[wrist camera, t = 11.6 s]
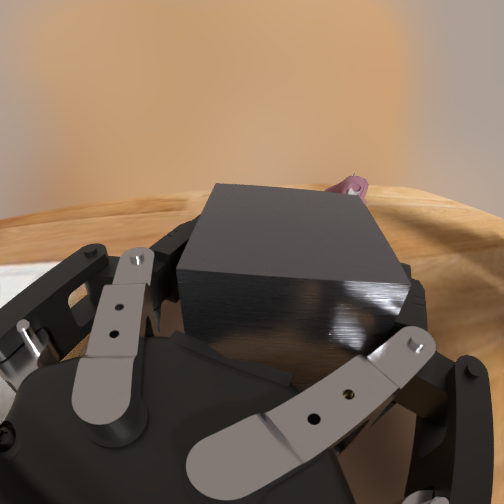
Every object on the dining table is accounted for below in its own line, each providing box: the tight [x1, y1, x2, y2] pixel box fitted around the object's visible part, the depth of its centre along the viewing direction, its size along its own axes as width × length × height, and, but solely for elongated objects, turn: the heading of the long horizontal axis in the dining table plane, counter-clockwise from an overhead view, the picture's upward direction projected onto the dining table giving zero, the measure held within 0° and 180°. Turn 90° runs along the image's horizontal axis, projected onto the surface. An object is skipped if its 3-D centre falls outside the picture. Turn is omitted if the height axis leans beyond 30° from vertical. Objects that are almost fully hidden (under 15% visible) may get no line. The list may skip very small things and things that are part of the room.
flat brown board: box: [79, 299, 429, 504], centre depth 14 cm, size 22×16×7 cm
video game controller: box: [324, 174, 369, 204], centre depth 34 cm, size 10×5×7 cm, turn 158°
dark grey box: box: [176, 183, 411, 391], centre depth 12 cm, size 6×6×9 cm
